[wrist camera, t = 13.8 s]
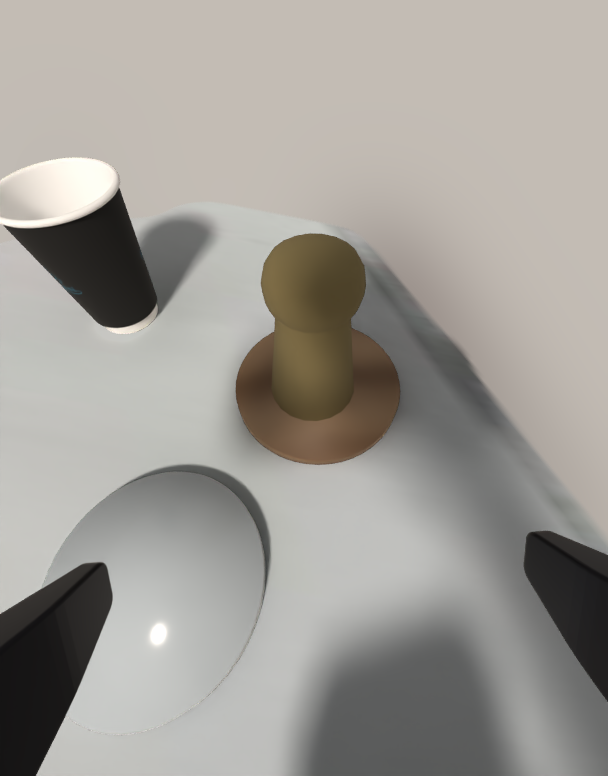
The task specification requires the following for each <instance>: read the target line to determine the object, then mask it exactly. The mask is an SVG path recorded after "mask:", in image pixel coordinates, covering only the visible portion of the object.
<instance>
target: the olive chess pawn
mask: <svg viewBox="0 0 608 776" xmlns="http://www.w3.org/2000/svg"><path fill="white" fill-rule="evenodd" d="M261 287H262V293H263V296H264V300H265V303H266V305H267V307H268V309H269V311H270V312H271V314H272V315H273V316H274V317H275V330H274V349H273V367H272V386H271V389H272V393H273V397H274V400H275V401H276V402H277V404H278V405H279V407H280V408H281V409H282V410H283V411H285V412H286V413H287V414H289V415H290V416H292V417H295V418H298V419H301V420H304V421H320V420H324V419H328V418H331V417H333V416H335V415H337V414H338V413H340V412H342V411H343V409H344V408H345V407H346V406H347V405H348V404H349V403H350V400H351V398H352V395H353V392H354V382H353V357H352V332H351V318H352V317H353V316H354V315H355V314H356V312H357V310H358V308H359V306H360V304H361V301H362V299H363V297H364V293H365V288H366V279H365V269H364V265H363V263H362V261H361V259H360V257H359V256H358V254H357V252H356V250H355V249H354V248H353V247H352V246H351V245H349V244H348V243H347V242H345V241H343V240H341V239H339V238H337V237H334V236H329V235H325V234H304V235H298V236H294V237H292V238H289V239H286V240H284V241H282V242H281V243H280V244H278V245H277V246H276V247H274V249H273V250H272V251H271V253H270V254H269V256H268V257H267V259H266V261H265V263H264V266H263V272H262V278H261Z"/></svg>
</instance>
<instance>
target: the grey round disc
mask: <svg viewBox="0 0 608 776" xmlns="http://www.w3.org/2000/svg"><path fill="white" fill-rule="evenodd" d="M91 562H103V563H105V564H106V566H107V569H108V573H109V578H110V583H111V588H112V593H113V601H112V606H111V609H110V612H109V614H108V617H107V619H106V622H105V624H104V627H103V629H102V632H101V634H100V637H99V639H98V642H97V644H96V647H95V649H94V652H93V654H92V657H91V659H90V662H89V664H88V667H87V669H86V672H85V674H84V677H83V679H82V681H81V684H80V686H79V688H78V691H77V693H76V695H75V697H74V699H73V702H72V704H71V706H70V708H69V710H68V712H67V714H66V717H68V718H69V719H70V720H72V721H73V722H74V723H76V724H78V725H80V726H82V727H84V728H86V729H88V730H91V731H95V732H99V733H103V734H110V735H127V734H135V733H141V732H144V731H148V730H151V729H154V728H157V727H160V726H162V725H164V724H166V723H168V722H170V721H172V720H174V719H176V718H178V717H179V716H181V715H182V714H184V713H186V712H187V711H188V710H190V709H191V708H193V707H194V706H196V705H197V704H199V703H200V702H201V701H203V700H204V699H205V698H206V697H207V696H208V695H209V694H211V693H212V692H213V691H214V690H215V689H216V688H217V687H218V686H219V685H220V683H221V682H222V681H223V680H224V679H225V678H226V677H227V676H228V674H229V673H230V672H231V670H232V669H233V667H234V666H235V664H236V663H237V662H238V660H239V659H240V657H241V655H242V653H243V652H244V650H245V648H246V646H247V644H248V643H249V640H250V638H251V636H252V633H253V631H254V629H255V626H256V623H257V620H258V617H259V614H260V610H261V607H262V601H263V596H264V590H265V577H266V569H265V555H264V549H263V544H262V540H261V537H260V533H259V530H258V528H257V526H256V524H255V521H254V519H253V518H252V516H251V514H250V513H249V511H248V510H247V508H246V507H245V505H244V504H243V503H242V502H241V500H240V499H239V498H238V497H237V496H236V495H235V494H234V493H233V492H232V491H231V490H230V489H229V488H227V487H226V486H224V485H223V484H221V483H220V482H218V481H216V480H214V479H212V478H210V477H207V476H204V475H201V474H197V473H191V472H164V473H158V474H154V475H150V476H146V477H144V478H141V479H138V480H136V481H133V482H131V483H129V484H127V485H125V486H123V487H121V488H120V489H118V490H117V491H115V492H113V493H112V494H110V495H109V496H107V497H106V498H105V499H104V500H102V501H101V502H100V503H98V504H97V505H96V506H95V507H94V508H93V509H92V510H91V511H90V512H88V513H87V514H86V515H85V517H84V518H83V519H82V520H81V521H80V522H79V523H78V524H77V525H76V527H75V528H74V529H73V530H72V532H71V533H70V534H69V536H68V537H67V538H66V540H65V541H64V543H63V545H62V546H61V548H60V549H59V551H58V552H57V554H56V556H55V558H54V560H53V562H52V564H51V566H50V568H49V570H48V573H47V575H46V578H45V580H44V583H43V586H42V588H44V587H45V586H47V585H48V584H50V583H52V582H53V581H55V580H57V579H58V578H60V577H61V576H63V575H65V574H66V573H68V572H70V571H71V570H73V569H74V568H76V567H78V566H79V565H81V564H84V563H91Z"/></svg>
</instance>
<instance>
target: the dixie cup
mask: <svg viewBox="0 0 608 776" xmlns="http://www.w3.org/2000/svg"><path fill="white" fill-rule="evenodd" d="M119 185H120V178H119V174H118V172H117V171H116V170H115V168H113V167H112V166H111V165H109V164H107V163H105V162H103V161H100V160H96V159H91V158H61V159H55V160H50V161H45V162H41V163H37V164H34V165H30V166H28V167H25V168H22V169H20V170H18V171H15V172H13V173H12V174H9V175H8V176H6V177H4V178H3V179H1V180H0V224H3V225H4V226H5V228H6V229H7V230H8V231H9V232H10V233H11V234H12V235H13V236H14V237H15V238H16V239H17V240H18V241H19V242H20V243H21V244H22V245H23V246H24V247H25V248H26V249H27V250H28V251H29V252H30V253H31V254H32V255H33V257H34V258H35V259H36V260H37V261H38V262H39V263H40V264H41V265H42V266H43V267H44V268H45V269H46V270H47V271H48V272H49V273H50V274H51V275H52V276H53V277H54V278H55V279H56V280H57V281H58V282H59V283H60V284H61V285H62V286H63V288H64V289H65V290H66V291H67V292H68V293H69V294H70V295H71V296H72V297H73V298H74V299H75V300H76V301H77V302H78V303H79V304H80V305H81V306H82V307H83V308H84V309H85V310H86V311H87V312H88V313H89V314H90V315H91V316H92V317H93V319H94V320H95V321H96V322H98V323H99V324H100V325H102V326H105V327H106V328H107V329H108V330H109V331H111V332H113V333H117V334H129V333H134V332H137V331H139V330H142V329H143V328H145V327H147V326H148V325H149V324H150V323H152V321H153V320H154V319H155V317H156V315H157V312H158V307H157V304H156V303H157V296H156V293H155V290H154V287H153V284H152V282H151V279H150V276H149V273H148V270H147V267H146V264H145V261H144V258H143V255H142V252H141V250H140V247H139V244H138V241H137V238H136V235H135V232H134V229H133V226H132V223H131V221H130V218H129V215H128V212H127V209H126V206H125V203H124V200H123V197H122V194H121V191H120V189H119Z"/></svg>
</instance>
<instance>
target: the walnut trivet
mask: <svg viewBox="0 0 608 776" xmlns="http://www.w3.org/2000/svg"><path fill="white" fill-rule="evenodd" d="M351 332H352V357H353V382H354V392H353V395H352V398H351V400H350V403H349V404H348V405H347V406H346V407H345V408H344V409H343V411H342V412H340V413H338V414H337V415H335V416H333V417H331V418H328V419H324V420H320V421H304V420H301V419H298V418H295V417H292V416H290V415H289V414H287V413H286V412H285V411H283V410H282V409H281V408H280V407H279V405H278V404H277V402H276V401H275V400H274V397H273V393H272V389H271V386H272V367H273V349H274V332H273V333H271V334H269V335H268V336H266V337H265V338H263V339H262V340H261V341H260V342H258V343H257V344H256V345H255V346H254V347H253V348H252V349H251V350H250V352H249V353H248V354H247V356H246V357H245V359H244V361H243V362H242V364H241V367H240V369H239V372H238V376H237V380H236V399H237V403H238V407H239V410H240V413H241V416H242V418H243V421H244V423H245V425H246V426H247V428H248V430H249V431H250V433H251V434H252V435H253V436H254V437H255V439H256V440H257V441H258V442H260V443H261V444H262V445H263V446H264V447H265V448H267V449H268V450H270V451H271V452H273V453H275V454H277V455H279V456H281V457H283V458H285V459H288V460H291V461H294V462H299V463H304V464H315V465H322V464H333V463H338V462H343V461H346V460H349V459H352V458H354V457H356V456H358V455H360V454H362V453H364V452H365V451H367V450H368V449H370V448H371V447H373V446H374V445H375V444H376V443H377V442H378V441H379V440H380V439H381V438H382V437H383V435H384V434H385V433H386V431H387V430H388V428H389V427H390V425H391V423H392V421H393V418H394V416H395V413H396V411H397V408H398V404H399V399H400V384H399V379H398V375H397V371H396V369H395V367H394V364H393V363H392V361H391V359H390V358H389V356H388V355H387V354H386V352H385V351H384V350H383V349H382V348H381V347H380V346H379V345H378V344H377V343H376V342H375V341H373V340H372V339H371V338H370V337H368V336H366V335H365V334H363V333H361V332H359V331H357V330H355V329H353V328H351Z"/></svg>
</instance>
